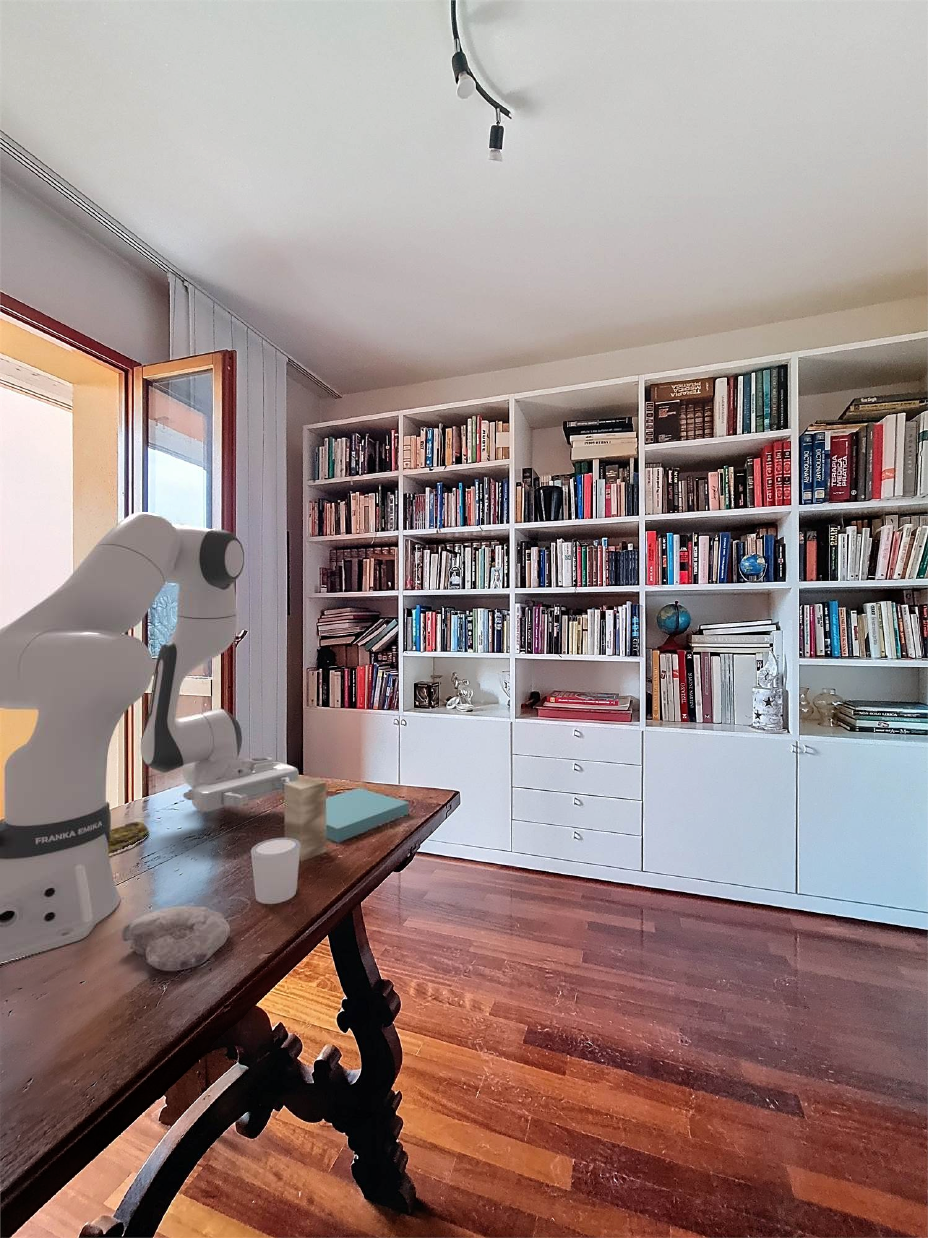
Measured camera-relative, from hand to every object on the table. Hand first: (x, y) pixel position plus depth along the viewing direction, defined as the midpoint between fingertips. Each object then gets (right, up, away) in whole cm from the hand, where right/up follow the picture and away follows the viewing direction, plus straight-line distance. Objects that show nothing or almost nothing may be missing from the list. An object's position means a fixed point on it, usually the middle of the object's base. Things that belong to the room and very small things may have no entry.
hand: (268, 794), depth 100 cm
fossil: (+2, -8, -35) cm, 36 cm away
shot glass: (+9, -7, -22) cm, 25 cm away
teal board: (+14, -7, +8) cm, 17 cm away
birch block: (+9, -7, -8) cm, 14 cm away
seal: (-27, -8, -3) cm, 28 cm away
